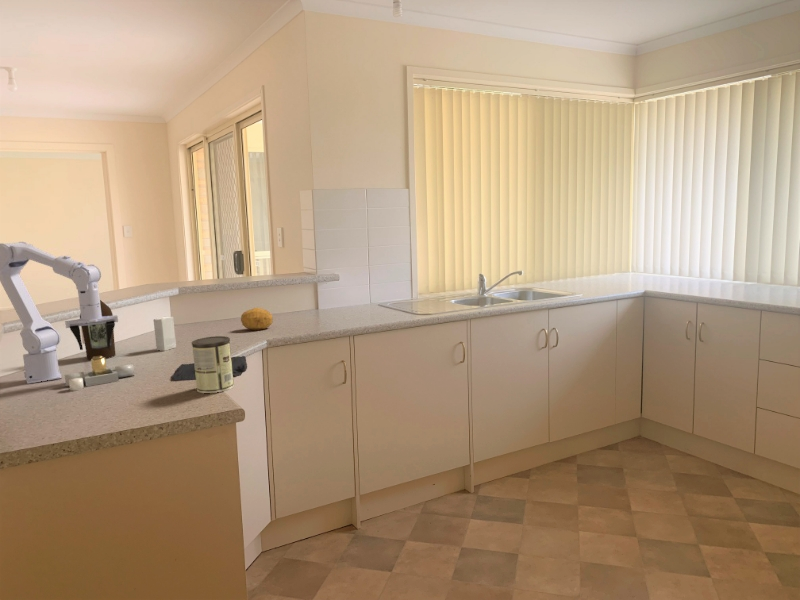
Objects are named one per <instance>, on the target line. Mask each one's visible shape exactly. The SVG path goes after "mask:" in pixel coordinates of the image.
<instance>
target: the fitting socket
mask: <svg viewBox="0 0 800 600" xmlns="http://www.w3.org/2000/svg"><path fill="white" fill-rule="evenodd" d="M132 376H135V368H134V364H133V363H131V364H130V363H129V364H124V365H118V366H114V367H110V368H108V367H107V374H104V375H98V376H93V373H92V370H91V371H80V372H74V373H69V374H64V380H65V387H70V386H69V380H70V379H74V378H83V385H85V387H86V388H87V387H91V386H98V385H103V384H108V383H109V384H111V383H115V382H119V381H120V380H119V379H121V378H126V377H132Z"/></svg>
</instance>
